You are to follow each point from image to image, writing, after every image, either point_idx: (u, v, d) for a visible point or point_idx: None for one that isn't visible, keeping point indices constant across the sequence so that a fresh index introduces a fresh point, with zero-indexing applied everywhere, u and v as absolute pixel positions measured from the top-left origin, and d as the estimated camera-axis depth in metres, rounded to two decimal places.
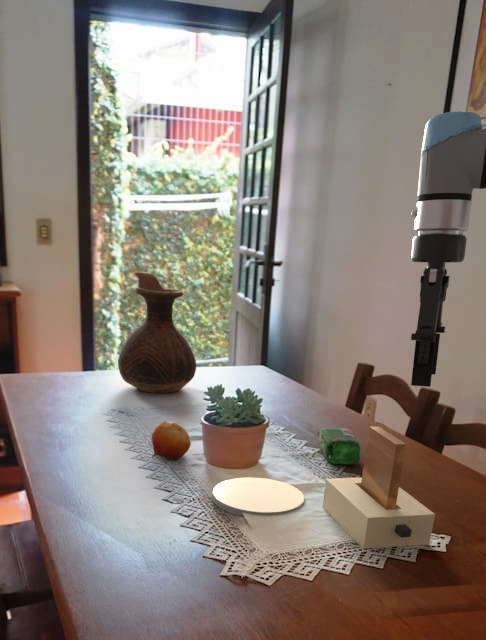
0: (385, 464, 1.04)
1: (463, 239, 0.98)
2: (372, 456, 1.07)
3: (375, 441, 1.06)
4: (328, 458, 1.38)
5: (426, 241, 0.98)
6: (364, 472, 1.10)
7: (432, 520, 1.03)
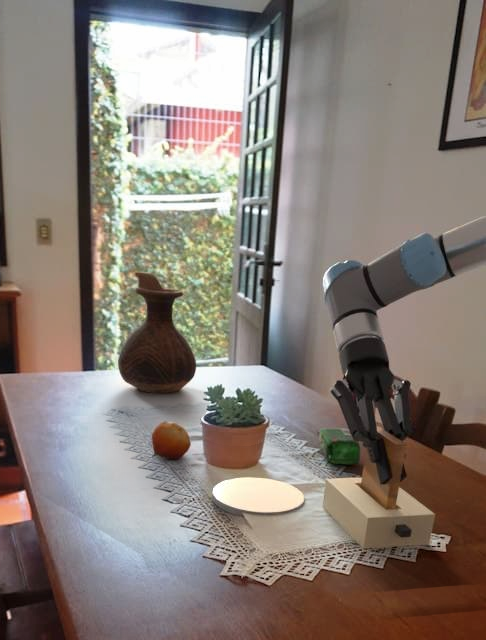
0: None
1: (361, 340, 1.08)
2: None
3: None
4: (328, 458, 1.38)
5: None
6: (364, 472, 1.10)
7: (432, 520, 1.03)
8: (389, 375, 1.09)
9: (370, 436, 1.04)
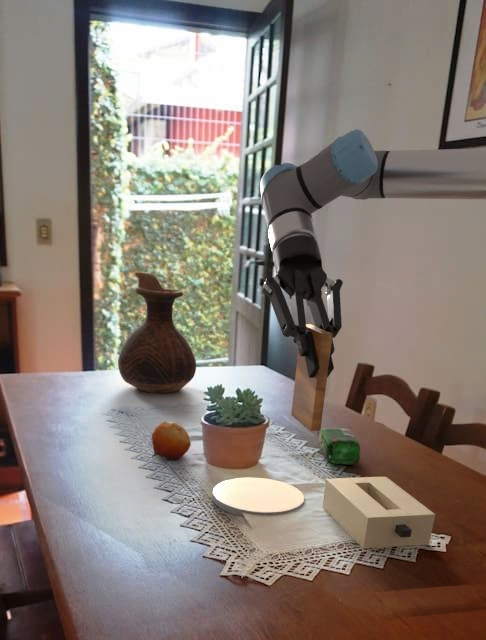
0: None
1: (292, 238, 1.08)
2: None
3: None
4: (328, 458, 1.38)
5: None
6: (297, 371, 1.11)
7: (432, 520, 1.03)
8: (321, 274, 1.09)
9: (299, 329, 1.04)
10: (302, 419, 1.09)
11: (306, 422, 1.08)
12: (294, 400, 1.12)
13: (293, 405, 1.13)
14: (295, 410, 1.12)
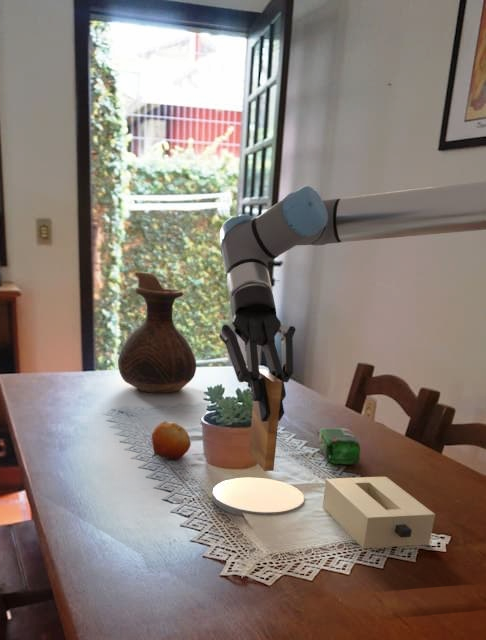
0: None
1: (247, 288, 1.14)
2: None
3: None
4: (328, 458, 1.38)
5: None
6: (253, 413, 1.17)
7: (432, 520, 1.03)
8: (275, 321, 1.16)
9: (252, 376, 1.11)
10: (257, 458, 1.16)
11: (260, 462, 1.14)
12: (251, 439, 1.19)
13: (250, 444, 1.19)
14: (252, 449, 1.19)
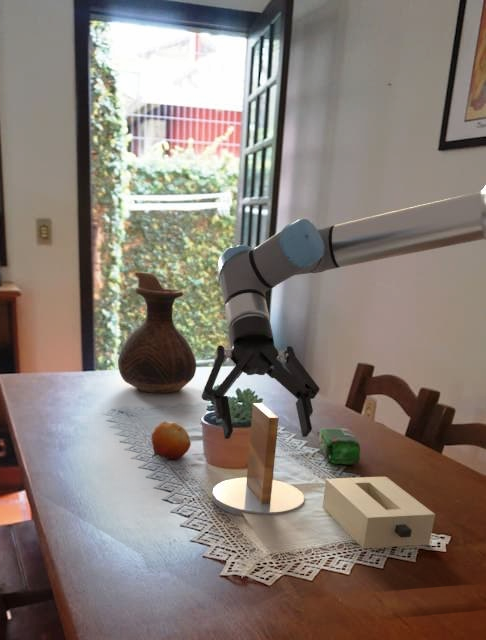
0: (262, 436, 1.13)
1: (245, 318, 1.16)
2: (255, 430, 1.16)
3: (256, 416, 1.15)
4: (328, 458, 1.38)
5: (229, 337, 1.20)
6: (250, 446, 1.19)
7: (432, 520, 1.03)
8: (273, 350, 1.18)
9: (215, 392, 1.12)
10: (255, 490, 1.18)
11: (258, 495, 1.17)
12: (248, 471, 1.21)
13: (248, 476, 1.22)
14: (249, 481, 1.21)
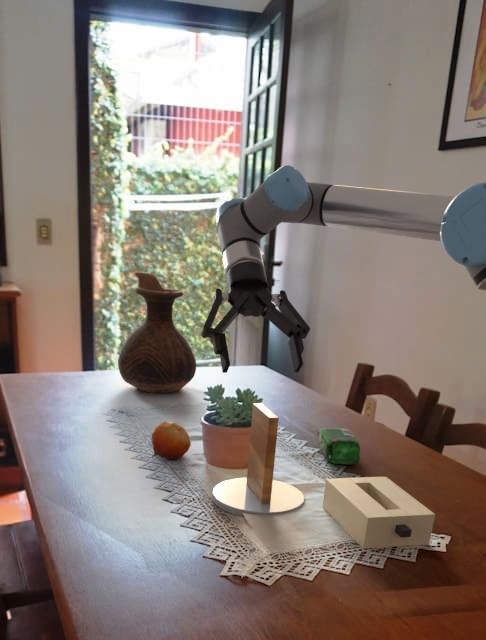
0: (262, 436, 1.13)
1: (241, 264, 1.26)
2: (255, 430, 1.16)
3: (256, 416, 1.15)
4: (328, 458, 1.38)
5: None
6: (250, 446, 1.19)
7: (432, 520, 1.03)
8: (267, 294, 1.27)
9: (213, 330, 1.22)
10: (255, 490, 1.18)
11: (258, 495, 1.17)
12: (248, 471, 1.21)
13: (248, 476, 1.22)
14: (249, 481, 1.21)
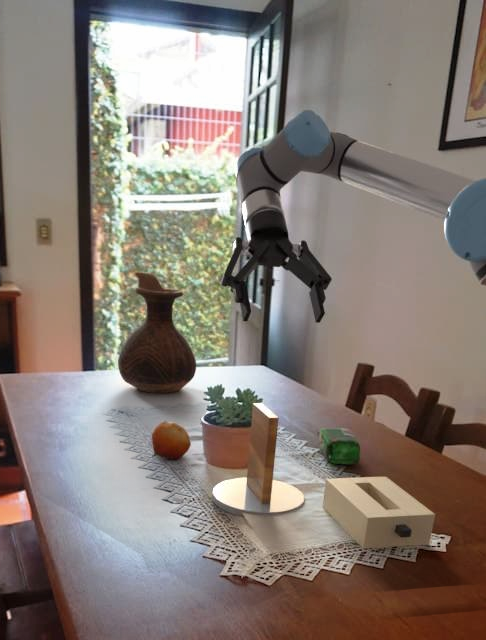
0: (262, 436, 1.13)
1: (262, 212, 1.24)
2: (255, 430, 1.16)
3: (256, 416, 1.15)
4: (328, 458, 1.38)
5: None
6: (250, 446, 1.19)
7: (432, 520, 1.03)
8: (288, 243, 1.25)
9: (234, 278, 1.20)
10: (255, 490, 1.18)
11: (258, 495, 1.17)
12: (248, 471, 1.21)
13: (248, 476, 1.22)
14: (249, 481, 1.21)
